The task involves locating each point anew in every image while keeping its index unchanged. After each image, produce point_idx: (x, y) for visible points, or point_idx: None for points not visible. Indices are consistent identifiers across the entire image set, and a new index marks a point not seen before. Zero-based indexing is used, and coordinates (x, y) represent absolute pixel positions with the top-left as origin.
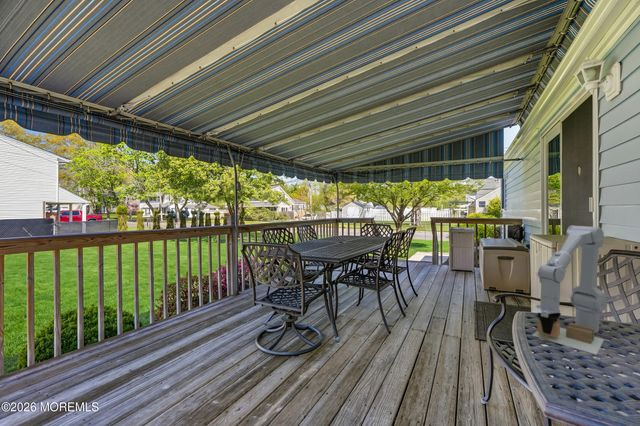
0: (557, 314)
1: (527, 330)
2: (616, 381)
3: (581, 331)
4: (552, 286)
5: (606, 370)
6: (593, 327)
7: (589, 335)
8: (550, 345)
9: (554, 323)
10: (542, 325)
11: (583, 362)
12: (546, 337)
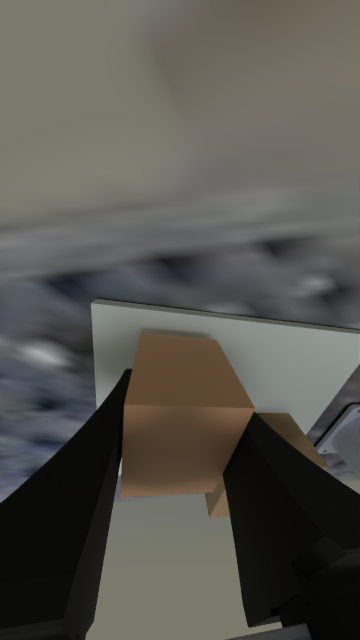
0: (252, 605)
1: (227, 260)
2: None
3: (216, 495)
4: None
5: (14, 482)
6: (353, 471)
7: (207, 496)
8: (73, 373)
9: (164, 481)
10: (98, 411)
11: (7, 452)
12: (133, 363)
